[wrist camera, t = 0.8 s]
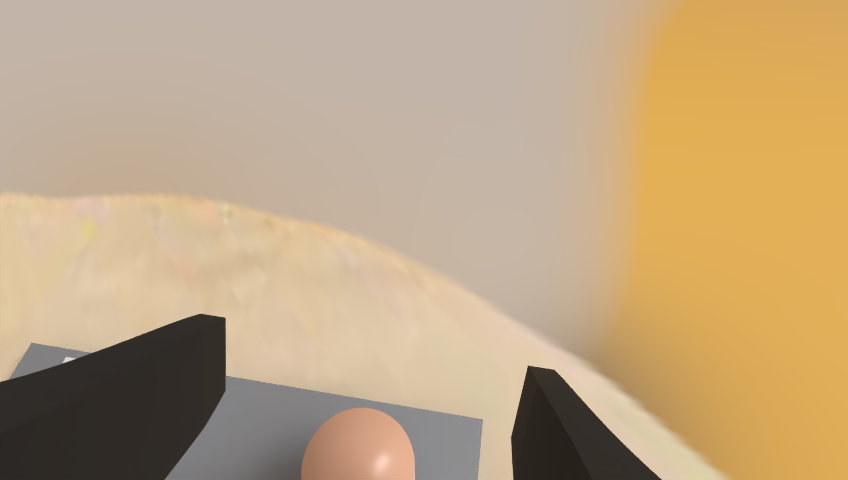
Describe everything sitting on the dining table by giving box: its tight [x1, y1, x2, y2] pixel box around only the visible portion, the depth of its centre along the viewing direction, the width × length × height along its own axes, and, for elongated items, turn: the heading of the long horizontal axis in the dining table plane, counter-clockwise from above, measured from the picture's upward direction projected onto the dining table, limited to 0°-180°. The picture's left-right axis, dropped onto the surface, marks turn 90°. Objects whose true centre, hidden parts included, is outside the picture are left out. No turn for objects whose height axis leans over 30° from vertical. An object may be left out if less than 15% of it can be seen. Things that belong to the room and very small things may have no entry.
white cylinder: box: [301, 408, 415, 480], centre depth 19 cm, size 4×4×7 cm
